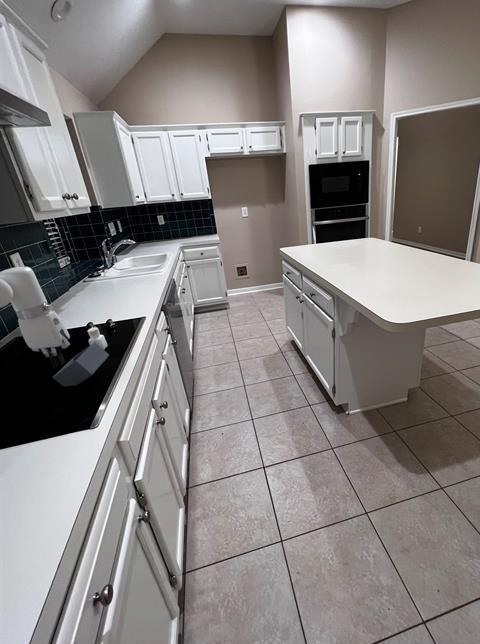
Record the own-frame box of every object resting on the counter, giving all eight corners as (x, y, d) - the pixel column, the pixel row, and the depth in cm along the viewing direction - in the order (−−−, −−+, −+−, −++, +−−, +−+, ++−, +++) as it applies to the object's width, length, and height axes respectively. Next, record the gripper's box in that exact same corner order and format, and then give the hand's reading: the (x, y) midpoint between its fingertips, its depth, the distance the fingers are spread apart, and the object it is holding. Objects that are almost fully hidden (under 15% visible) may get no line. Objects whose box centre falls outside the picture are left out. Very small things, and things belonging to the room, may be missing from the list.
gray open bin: (52, 377, 93) (75, 360, 91) (73, 357, 103) (94, 342, 101) (69, 390, 95) (92, 374, 93) (88, 370, 105) (109, 355, 103)
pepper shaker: (109, 349, 117) (100, 326, 113) (104, 354, 113) (95, 331, 109) (98, 350, 117) (89, 327, 113) (93, 355, 113) (83, 332, 109)
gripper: (67, 303, 93) (90, 355, 101) (16, 308, 93) (43, 360, 101) (51, 313, 86) (77, 369, 94) (-3, 319, 86) (27, 374, 94)
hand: (59, 364), depth 97 cm, fingers closed
